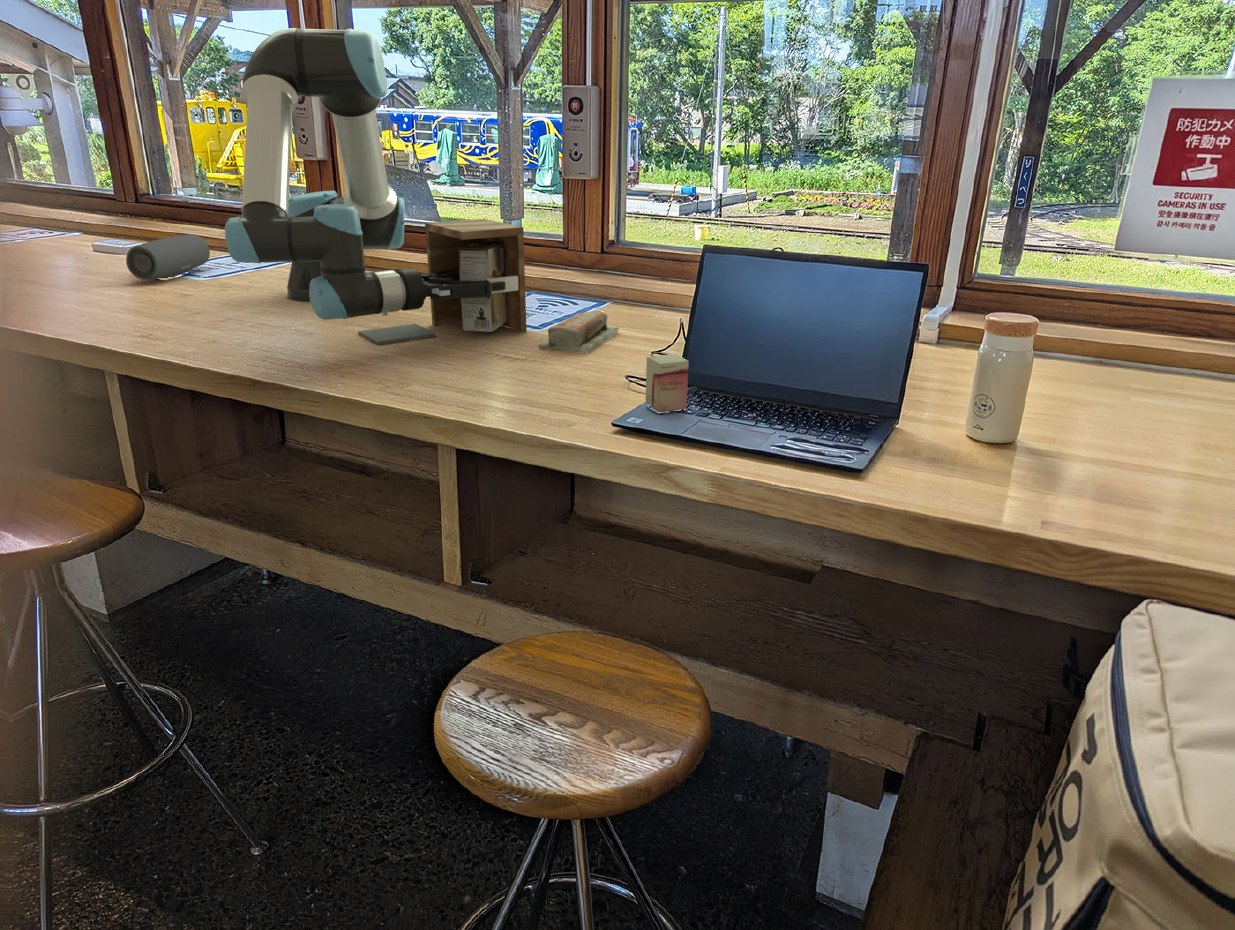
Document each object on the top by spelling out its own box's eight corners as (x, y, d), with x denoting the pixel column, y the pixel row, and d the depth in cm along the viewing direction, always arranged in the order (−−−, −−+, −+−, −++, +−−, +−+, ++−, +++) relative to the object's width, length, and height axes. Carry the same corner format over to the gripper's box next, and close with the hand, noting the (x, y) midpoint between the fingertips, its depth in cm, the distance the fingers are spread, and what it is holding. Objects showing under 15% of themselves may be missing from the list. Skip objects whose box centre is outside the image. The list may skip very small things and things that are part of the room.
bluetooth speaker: (182, 269, 236) (176, 231, 232) (214, 270, 235) (208, 232, 231) (128, 284, 215) (119, 243, 211) (162, 285, 214) (154, 244, 210)
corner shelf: (432, 324, 178) (424, 222, 171) (488, 317, 185) (483, 218, 178) (468, 340, 166) (462, 231, 159) (526, 331, 174) (523, 227, 166)
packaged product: (587, 330, 157) (537, 325, 160) (587, 356, 159) (538, 351, 162) (619, 310, 173) (573, 306, 176) (619, 334, 175) (573, 330, 177)
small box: (657, 415, 127) (658, 363, 124) (644, 407, 131) (645, 356, 128) (687, 411, 129) (689, 360, 126) (674, 403, 132) (676, 353, 129)
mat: (358, 334, 170) (358, 331, 170) (415, 326, 177) (415, 323, 177) (377, 344, 163) (377, 341, 162) (436, 336, 169) (436, 333, 169)
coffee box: (478, 320, 178) (474, 240, 171) (507, 321, 176) (504, 241, 170) (462, 330, 169) (457, 247, 163) (493, 332, 168) (489, 248, 162)
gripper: (376, 300, 170) (477, 288, 182) (425, 322, 153) (533, 307, 165) (372, 261, 167) (475, 251, 179) (422, 279, 150) (532, 267, 162)
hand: (503, 278), depth 172 cm, fingers closed on coffee box, 10 cm apart
